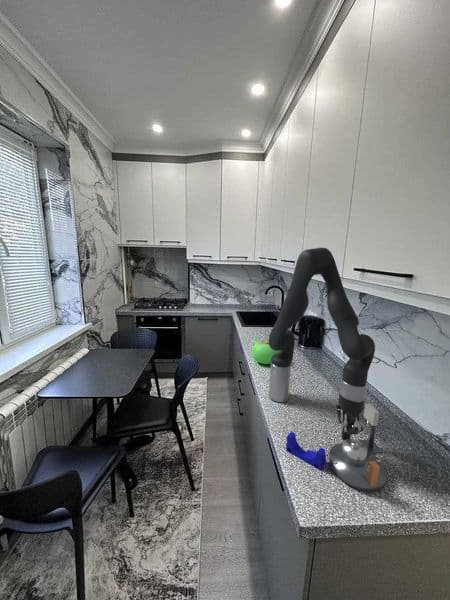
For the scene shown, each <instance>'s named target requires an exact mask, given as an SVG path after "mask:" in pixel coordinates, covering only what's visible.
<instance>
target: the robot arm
mask: <svg viewBox="0 0 450 600" xmlns="http://www.w3.org/2000/svg"><path fill="white" fill-rule="evenodd" d="M316 275H320V276H321V277H322V279H323V281H324V283H325V287H326V303H327V304H326V305H327V310H328V313H329V315H330V317H331V319H332V321H333V323H334V325H335V327H336V329H337V331H336V332H337V336H338V339H339V344H340V347H341V350H342V351H343V353H344V354H345V356H346V357H347V358H349V359H348V361H347V362H346V363H345V364H344V365H343V370H342V377H341V382H340V386H339V393H338V399H337V400H338V401H337V403H338V404H336V405H335V407H336V413H337V418H338V419H337V420H338V422H339V424H340V425H341V427H340V428H341V439H342V442H343V441H344V440H345V439H351V436H352V435H355V436H356V435H359V434H360V433H362V432H363V431H364V427H363V426H361V425H360V414H361V413H362V412H363V411H364V409H365V403H366V402H365V399H366V395H367V381H368V376H369V374H368V373H369V370H370V367H371V365H372V362H373V359H374V356H375V352H376V344H375V341H374V339H373V338H372V337H371V336H370V335H368V334H365V333H360V331H359V330H358V326H359V324H360V321H359V318H358V316H357V314H356V312H355V310H354V307H353V306H352V305H351V303H350V301H349V298H348V296H347V293H346V291H345V288H344V286H343V282H342V279H341V275H340V273H339V270H338V266H337V263H336V260H335V258H334V256H333V253H332V251H331V250H330V249H328V248H326V247H316V248H309V249H304V250H303V251H302V252H300V254H299V255H298V257H297V260H296V263H295V268H294V271H293V276H292V280H291V282H290V285H289V288H288V290H287V294H286V297H285V298H284V301H283V303H282V306H281V309H280V312H279V314H278V317H277V319H276V321H275V323H274V325H273V327H272V329H271V331H270V333H269V337H268V341H269V346H270V348H271V349H272V350H277V351H279V350H280V352H278V353H276V354H274V355H273V356H272V358H271V364H270V372H269V386H268V387H269V389H268V397H269V398H270V399H271V401H274V402H278V403H285V402H287V401H289V394H290V393H289V391H290V384H291V383H290V382H291V370H292V369H291V368H292V361H293V359H294V351H295V344H296V342H295V341H296V340H295V339H296V338H295V334H294V332H293V331H292V330H291V329H290V328H291V327H293V326H294V325H296V324H297V323H299V321H300V320H301V319H303V317H304V315H305V313H306V311H307V309H308V307H309V303H310V300H309V299H310V298H309V295H308V286H309V285H310V282H311V280H312V278H313V277H315V276H316Z"/></svg>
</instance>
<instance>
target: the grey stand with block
mask: <svg viewBox="0 0 450 600" xmlns="http://www.w3.org/2000/svg"><path fill="white" fill-rule="evenodd" d="M363 411H364V412H363V418H365V419H366V421H367V422H366V428H365V429H366V430H365V435H368V433H369V437H368V439H358V441H359V442H361V443H362V444H363V445H364V446H365V447H366V448H367V450H368V451H370V452H371V453H372V454H383V453H384V451H383V450H382V449H381V448H380V447H379V445H377V443H375V438H376V433H377V432H376V431H377V426H378V423H379V417H380V411H379V410H378V409H376V408H375V407H374V406H373V405H372V404H371V403H364V409H363ZM369 426H370V430H369Z"/></svg>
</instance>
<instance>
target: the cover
mask: <svg viewBox="0 0 450 600" xmlns="http://www.w3.org/2000/svg"><path fill="white" fill-rule="evenodd" d="M342 443H343V446H342V453H341V454H342V457H343V459H344V460H345V461H346V462H347V463H349V464H351V465H353V466H356V467H362V466H364V465H365V464H366V458H367V448H366V447H365V446H364V445H363V444H362V443H361V442H359V440H356V439H353V438H350V439H345V440H344V441H343V440H342Z"/></svg>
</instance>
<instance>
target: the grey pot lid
mask: <svg viewBox="0 0 450 600" xmlns="http://www.w3.org/2000/svg"><path fill="white" fill-rule="evenodd" d="M342 446H343V442H341V443H337V444H334V445H332V447H331V448H329V449H330V450H329V454H328V463H329V466H330V468H331V470H332V471H333V472H334V474H335V476H337V477H338V478H339V479H340V480H342V481H343V482H344V483H346V484H347V485H349V486H351V487H352V488H356V489H358V490H361V491H365V492H377V491H380V490H381V489H383V488H384V487H385V485H386V483H387V482H386V481H387V475H388V474H387V469H386V467H385V465H384V463H383V462H382V461H381V460H380V459H379V458H378V457H377V456H376V455H375V453H371V452H370V451H368V450H367V458H366V464H365V465H364V466H362V467H356V466H353V465H351V464H349V463H347V462H346V461H345V460H344V459H343V457H342V454H341V453H342Z"/></svg>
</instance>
